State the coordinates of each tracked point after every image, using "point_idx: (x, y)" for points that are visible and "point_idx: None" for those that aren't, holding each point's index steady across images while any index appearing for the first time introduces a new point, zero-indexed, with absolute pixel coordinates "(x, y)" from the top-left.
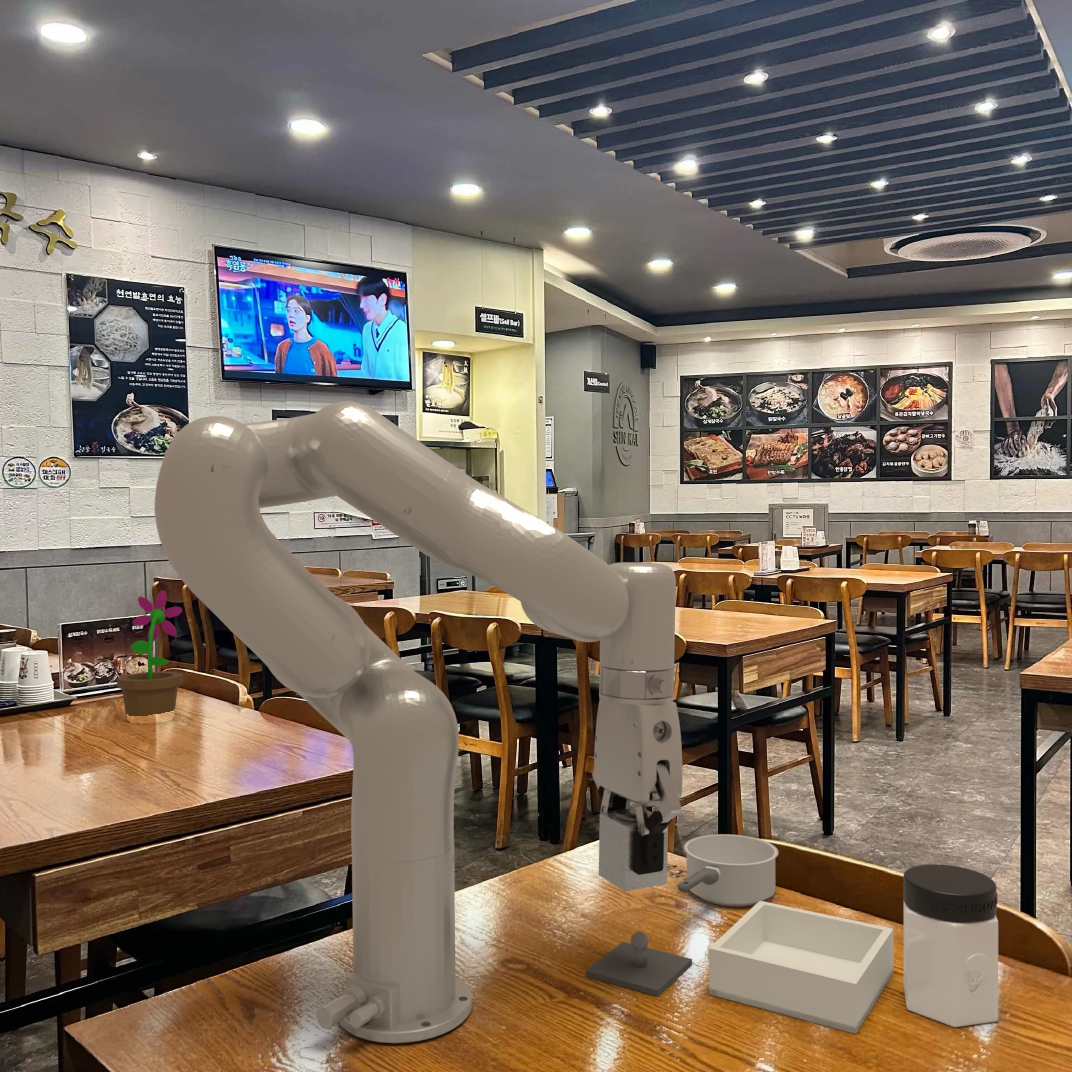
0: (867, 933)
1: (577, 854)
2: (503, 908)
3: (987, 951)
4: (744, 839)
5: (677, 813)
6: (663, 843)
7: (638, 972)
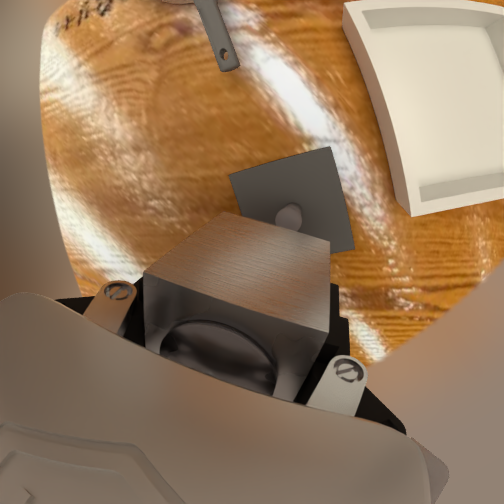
0: (488, 15)
1: (43, 67)
2: (90, 208)
3: None
4: None
5: (434, 459)
6: (338, 321)
7: (307, 228)
